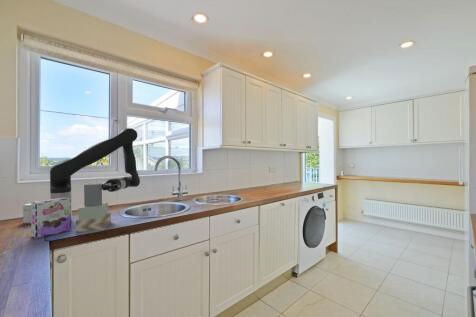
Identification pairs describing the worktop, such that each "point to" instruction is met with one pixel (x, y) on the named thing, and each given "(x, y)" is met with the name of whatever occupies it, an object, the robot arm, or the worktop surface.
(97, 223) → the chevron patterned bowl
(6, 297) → the worktop surface
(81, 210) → the sage block
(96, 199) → the grey block
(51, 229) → the candy box
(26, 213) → the small box
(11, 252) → the worktop surface
